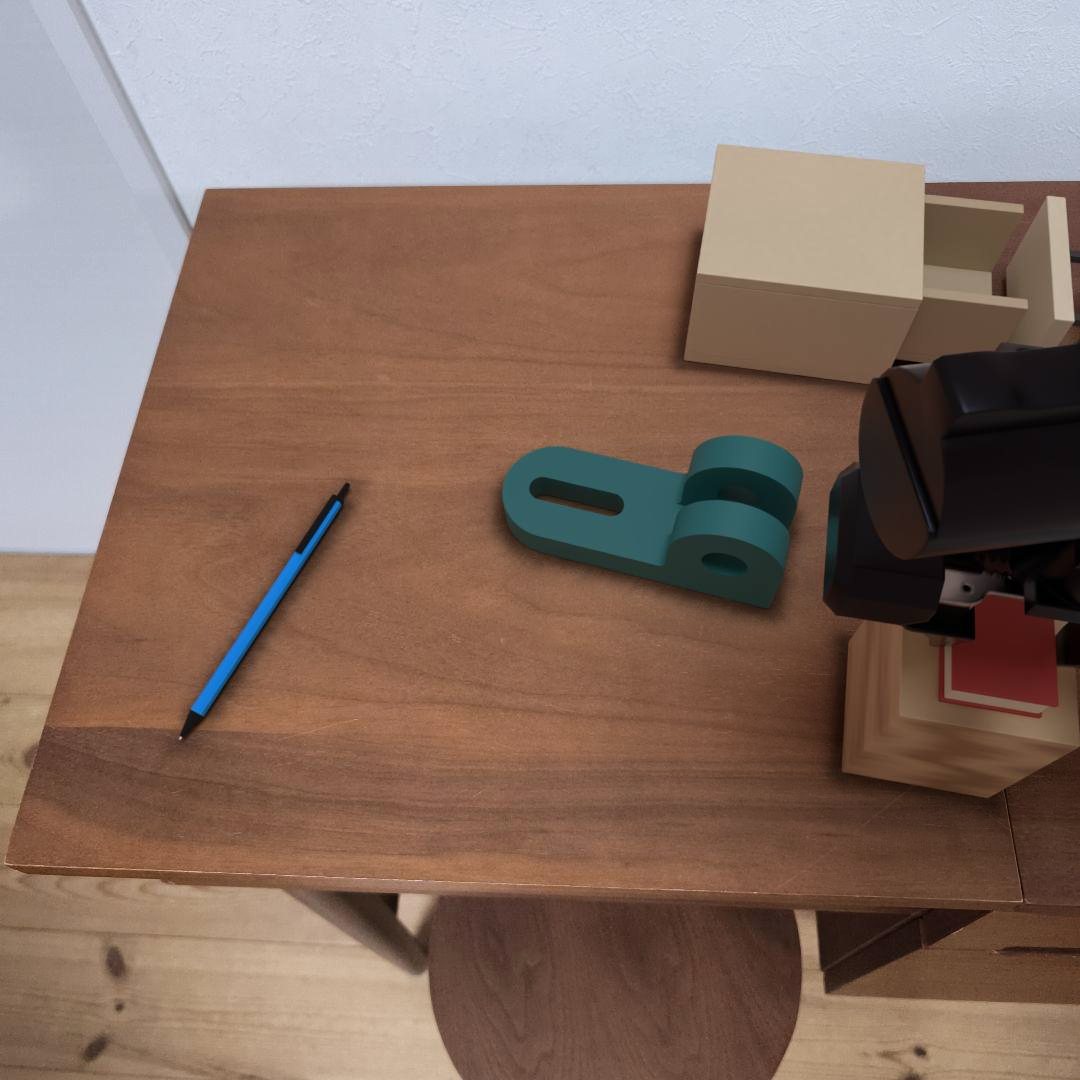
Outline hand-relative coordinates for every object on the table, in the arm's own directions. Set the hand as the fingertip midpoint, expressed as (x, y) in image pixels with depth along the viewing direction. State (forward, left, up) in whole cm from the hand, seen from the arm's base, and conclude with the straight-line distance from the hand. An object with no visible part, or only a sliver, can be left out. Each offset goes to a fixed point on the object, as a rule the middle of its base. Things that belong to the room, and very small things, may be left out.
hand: (992, 645), depth 44 cm
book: (0, 0, 0) cm, 0 cm away
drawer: (-3, -29, -11) cm, 31 cm away
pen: (+40, 0, -12) cm, 41 cm away
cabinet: (+10, -29, -12) cm, 33 cm away
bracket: (+18, -9, -12) cm, 23 cm away
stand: (0, 0, -12) cm, 12 cm away
